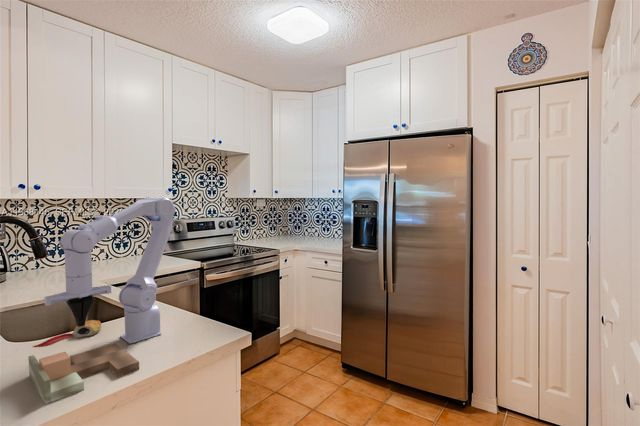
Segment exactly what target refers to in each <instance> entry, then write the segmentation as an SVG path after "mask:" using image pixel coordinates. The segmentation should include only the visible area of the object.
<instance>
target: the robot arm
mask: <svg viewBox="0 0 640 426" xmlns="http://www.w3.org/2000/svg"><path fill="white" fill-rule="evenodd" d="M175 213H176V207H175V205H174V202H173V201H172V200H171V198H168V197H149V196H146V197H145V196H144V197H143V198H141V199H138V200H136V201H135V202H134V203H132V204H130V205H129V206H127V207H125V208H124V209H122V210H120V211H118V212H117V213H115V214H113V215H111V216H110V215H106V214H105V215H99V214H98V215H97V216H95V217H94V218H95V219H93V220H92V221H89V222H88V223H85V224H84V223H83V224H79V225H78V228H77V229H69V230H66V231H65V232H64V233H63V234H62V235H61V237H60V240H59V241H58V245H59V247H60V248H61V249H62V250H63V252H64V267H65V268H64V269H65V271H64V272H65V275H64V276H65V291H64V292H59V293H56V294H52V295H48V296H44V299H43V302H44V305H45V306H46V307H48V306H52V305H54V304H60V303H66V304H67V306H68V307H69V309H70V311H71V312H72V315H73V316H74V320H75V323H76V326H78V327H81V326H85V321H87V317H88V313H89V311H90V309H91V307H92V305H93V304H94V300H95V299H94V296H101V295H105V294H107V295H110V294H112V286H111V285H109V284H108V285H107V284H106V285H101V286H93V271H92V270H93V269H92V268H93V267H92V251H93V249H94V248H95V247H96V244H98V243H99V242H101V241H103V240H105V239H107V238H109V237H110V236H112V235H114V234H116V233H117V232H118V228H119V227H120V226H122V225H124V224H127V223H128V222H131V221H132V220H135V219H137V218H139V217H140V216H143V217H144V218H145V219H146V221H147V222H148V223H149V224H150V226H151V227H152V231H151V233H150V235H149V238H148V241H147V243H146V246H145V248H144V251H143V253H142V256H141V259H140V261H139V264H138V267H137V268H136V269H137V270H136V271H135V275H133V276H132V277H130V278H129V279H128V280H127V282H126V283H125V285H124V287H122V288H121V290H120V291H119V294H118V301H119V303H120V304H121V305H123V306H122V307H123V309H124V311H123V312H124V333H122V334H120V336H119V337H120V338H121V339H123V340H124V341H125V342H127V343H128V344H135V343H137V342H140V341H143V340H144V341H145V340H147V339H150V338H153V337H157V336H160V335H161V334H162V332H161V312H160V309H159V307H158V305H157V304H155V302H156V299H157V296H156V295H157V294H156V293H157V290H158V286H157V283H156V282H155V279H154V278H155V276H156V274H157V271H158V268H159V266H160V262H161V260H162V259H163V258H162V257H163V255H164V251H165V249H166V246H167V243H168V241H169V238H170V236H171V233H172V231H173V219H174V216H175Z"/></svg>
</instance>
